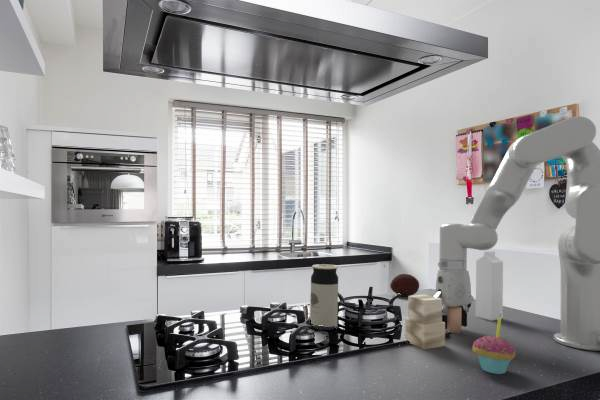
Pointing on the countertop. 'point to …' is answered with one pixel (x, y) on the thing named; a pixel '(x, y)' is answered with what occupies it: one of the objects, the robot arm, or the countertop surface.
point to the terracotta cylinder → (454, 319)
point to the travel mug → (324, 295)
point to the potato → (405, 285)
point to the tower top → (425, 309)
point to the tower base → (425, 334)
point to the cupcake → (494, 352)
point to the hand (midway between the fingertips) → (452, 326)
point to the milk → (489, 287)
